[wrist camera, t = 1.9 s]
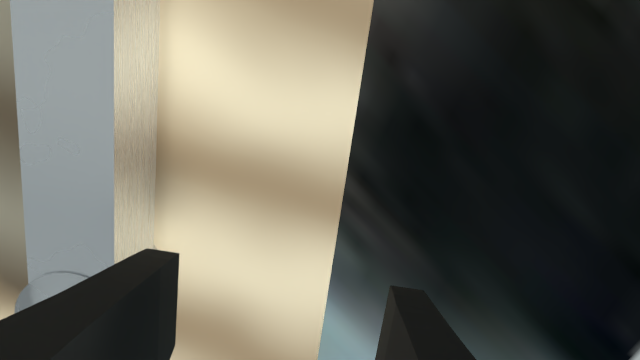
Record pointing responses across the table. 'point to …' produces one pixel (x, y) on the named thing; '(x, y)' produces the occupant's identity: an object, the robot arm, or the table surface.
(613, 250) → the table surface
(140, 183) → the clear plastic container
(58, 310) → the robot arm
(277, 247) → the wooden cutting board
